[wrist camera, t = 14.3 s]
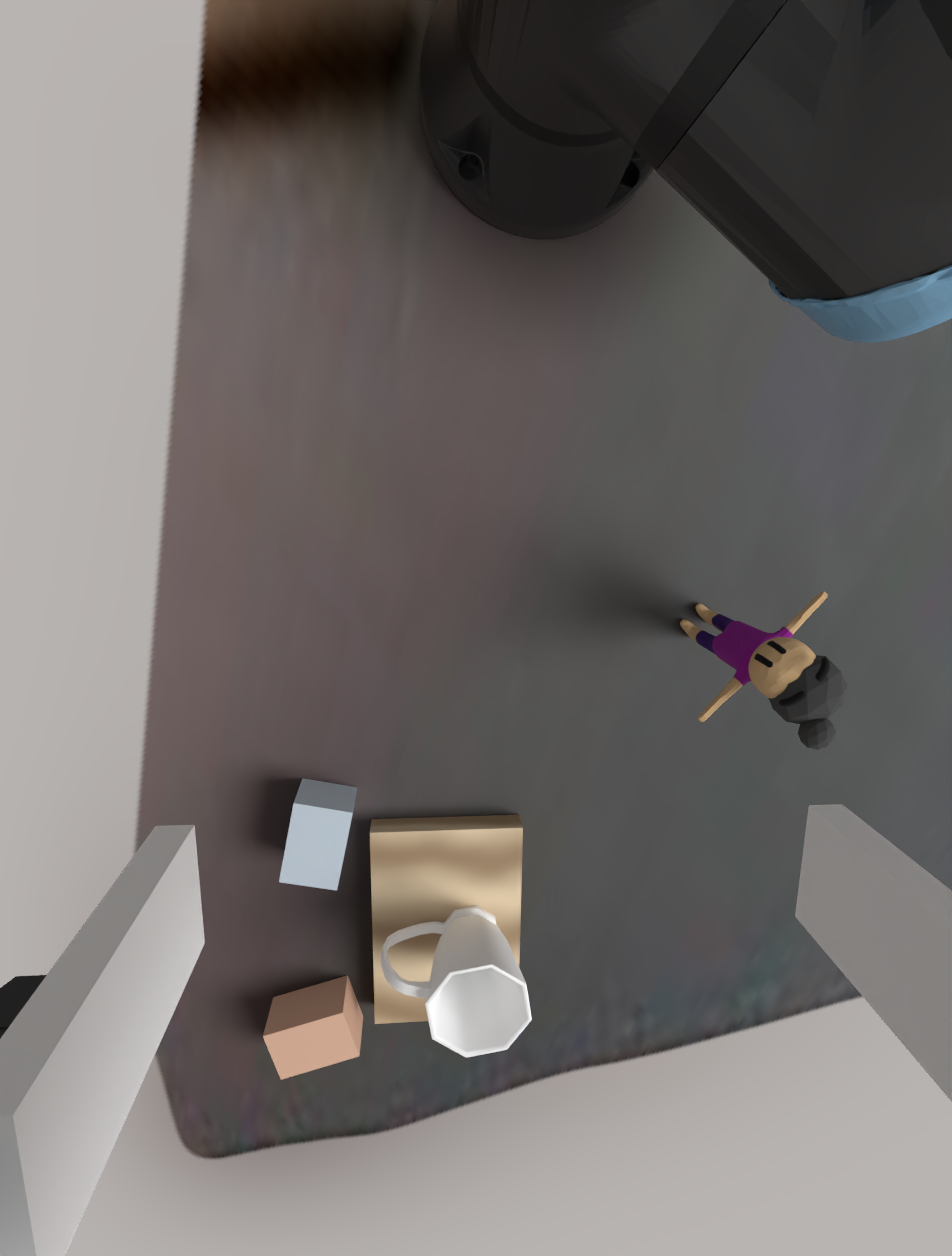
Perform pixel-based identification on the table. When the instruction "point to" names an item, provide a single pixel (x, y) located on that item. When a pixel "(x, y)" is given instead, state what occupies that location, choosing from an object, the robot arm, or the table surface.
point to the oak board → (437, 892)
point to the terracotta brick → (314, 1027)
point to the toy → (777, 671)
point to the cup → (467, 983)
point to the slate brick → (318, 834)
